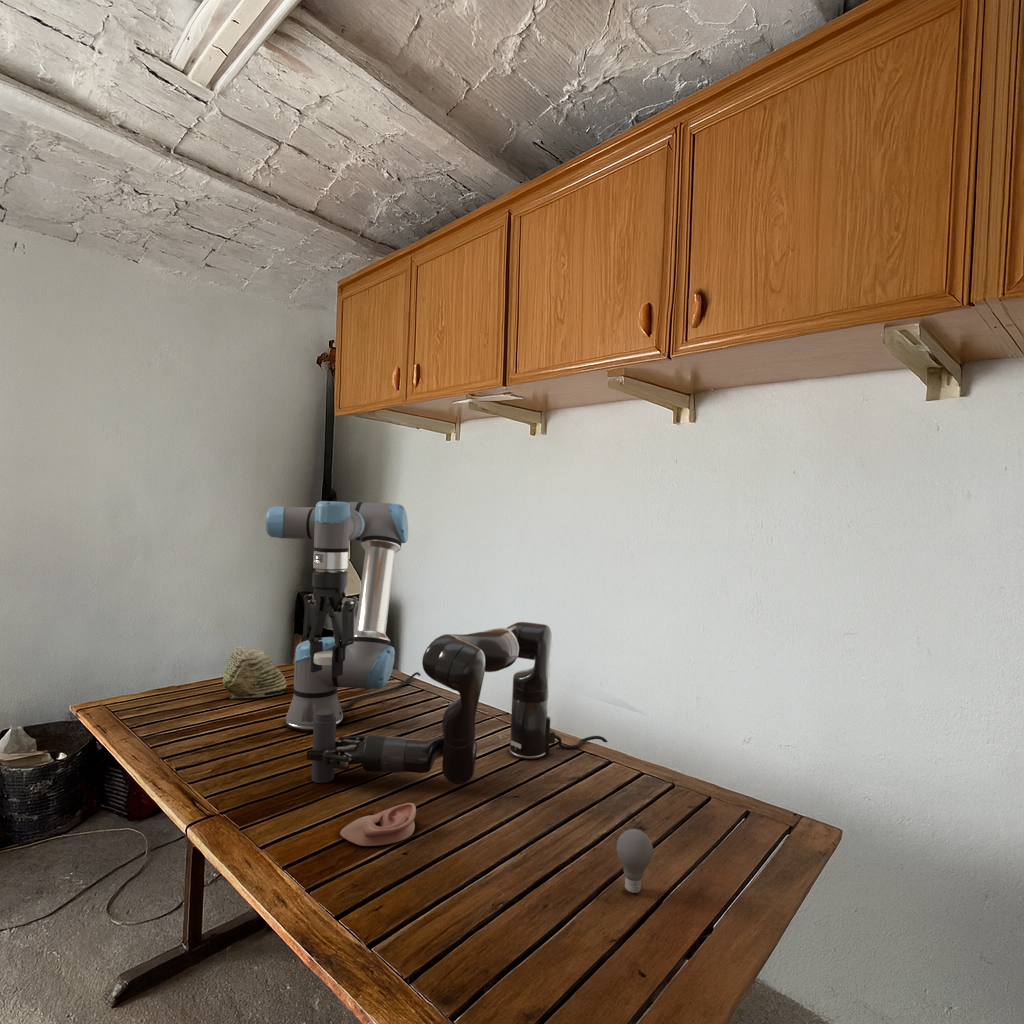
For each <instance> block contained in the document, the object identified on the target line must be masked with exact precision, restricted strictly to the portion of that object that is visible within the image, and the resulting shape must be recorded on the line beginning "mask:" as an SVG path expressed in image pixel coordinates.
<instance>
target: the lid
mask: <svg viewBox="0 0 1024 1024" xmlns="http://www.w3.org/2000/svg"><path fill="white" fill-rule="evenodd" d="M314 663H315V664H317V665H332V651H322V652H317V653H315V654H314Z"/></svg>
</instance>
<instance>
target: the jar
mask: <svg viewBox="0 0 1024 1024" xmlns="http://www.w3.org/2000/svg"><path fill="white" fill-rule="evenodd" d="M315 715H316V718H314V726H313V732H312V749H318V750H334V749H335V741H336V739H337V727H336V717H334V716H335V711H334V710H331V709H322V710H318V711H317V712H316V713H315ZM334 755H335V754H334ZM334 779H335V768H330V767H325V766H324V761H315V760H311V782H313V783H316V784H327V783H330V782H332V781H333V780H334Z"/></svg>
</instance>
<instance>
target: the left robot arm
mask: <svg viewBox="0 0 1024 1024" xmlns="http://www.w3.org/2000/svg"><path fill="white" fill-rule="evenodd" d="M264 523H265V524H264V525H265V527H264V528H265V532H266V534H267V536H269V537H271V538H276V539H281V540H282V539H296V540H313V563H312V564H313V565H312V567H313V569H315V570H314V571H312V582H311V583H312V587H313V588H314V591H313V592H312V593H310V594H304V595H303V603H304V610H303V611H304V613H303V625H302V626H303V628H302V638H303V639H307V640H304V641H302V642H300V643H298V644H297V645H296V648H295V655H294V659H293V662H294V672H293V695H292V696H293V697H292V699H291V702H290V704H289V708H288V711H287V713H286V715H285V726H286V728H287V729H289V730H291V731H294V732H295V731H296V732H301V733H313V726H314V718H316V715H315V713H316V712H317V711H318V710H322V709H331V710H334V711H335V716H334V717H336V728H337V727H339V726H340V725H342V723H343V722H344V714H343V710H344V709H347V708H349V707H350V706H351V705H352V703H354V702H356V701H358V700H362V699H365V698H370V697H374V696H378V695H382V694H384V693H385V694H386V693H389V692H392V691H395V690H397V689H400V688H402V687H403V686H405V685H407V683H408V682H410V680H412V679H413V678H414V677H416V676H419V677H420V676H421V673H420V672H419V671H418V672H417V671H416V672H414V673H413V674H411V675H410V676H409V677H408V678H407V679H406V680H405V681H404V682H402V683H400V684H398V685H396V686H393V687H390V688H388V689H384V690H380V689H383V688H384V687H385V686H386V685H387V684H388V682H389V680H390V678H391V675H392V672H393V668H394V664H395V655H396V650H395V647H394V646H392V645H391V640H390V638H389V637H388V636H387V634H386V632H387V625H388V615H389V607H390V598H391V592H392V591H391V590H392V581H393V574H394V565H395V558H396V557H395V556H396V554H397V553H398V552H400V551H401V550H402V544H406V543H407V542H408V539H409V521H408V514H407V511H406V508H405V506H403V505H402V504H400V503H391V502H367V501H365V502H363V501H350V502H349V501H348V502H347V501H336V500H335V501H334V500H333V501H332V500H331V501H330V500H329V501H328V500H320V501H318V502H317V503H316V504H315V507H311V506H310V507H309V506H307V507H306V506H304V507H303V506H302V507H301V506H285V505H284V506H283V505H282V506H272V507H270V508H269V509H268V510H267V512H266V515H265V521H264ZM352 541H359V542H361V543H360V545H361V547H362V549H364V551H365V552H364V559H363V568H362V574H361V583H360V590H359V597H358V604H357V601H356V600H355V599H350V598H347V594H346V589H347V587H348V577H349V572H348V571H346V570H347V569H349V546H350V542H352ZM356 605H357V612H356V618H355V608H356ZM327 616H328V617H329V618H330V620H331V621H330V622H331V627H332V632H333V633H332V634H333V636H324V637H322V634H323V630H324V627H325V623H326V618H327ZM322 651H332V665H317V664H315V663H314V654H315V653H317V652H322ZM338 688H348V689H364V690H365V689H366V690H371V689H373V690H380V691H376V692H372V693H368V694H363V695H360V696H356V697H354V698H351V700H349V702H348V703H346V704H345V705H341V702H340V699H339V695H338Z"/></svg>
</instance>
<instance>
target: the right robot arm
mask: <svg viewBox="0 0 1024 1024" xmlns="http://www.w3.org/2000/svg"><path fill="white" fill-rule="evenodd" d="M553 644H554V633H553V630H552V627H551V626H550V625H548V624H545V623H544V624H543V623H538V622H537V623H536V622H528V621H518V622H515V623H512V624H511V625H508V626H506V627H498V628H491V629H487V630H484V631H483V630H482V631H478V632H472V633H466V634H462V633H461V634H459V633H458V634H457V633H445V634H441V635H440V636H438V637H436V638H435V639H433V640H432V641H431V642H430V643H429V644H428V646H427V647H426V649H425V650H424V653H423V655H422V662H421V663H422V669H423V671H424V673H425V674H426V676H428V677H429V678H430V679H431V680H432V681H435V682H437V683H438V684H441V685H443V686H445V687H446V688H447V689H450V690H452V691H456V692H458V694H459V697H457V699H454V700H453V701H452V702H451V703H450V704H449V705H448V706H447V707H446V709H445V711H444V713H443V716H442V720H441V721H442V723H441V725H442V726H441V727H442V736H438V737H432V738H427V739H420V738H419V739H418V738H406V737H401V736H391V735H376V734H375V735H373V734H370V735H368V736H367V737H366V736H365V735H341V736H338V738H336V741H335V749H334V750H318V749H313V748H309V749H308V750H307V751H306V759H307V761H312V760H315V761H324V766H325V767H330V768H334V769H336V770H342V771H349V769H350V765H358V764H361V765H362V769H363V770H364V771H365V772H377V773H392V774H393V773H394V774H397V773H414V774H428V773H430V772H431V770H432V769H433V767H434V764H435V762H436V761H437V760H438V759H440V758H442V762H441V764H442V765H441V769H442V770H441V772H442V774H443V776H444V778H445V779H446V780H447V781H448V782H449V783H451V784H453V785H457V786H458V785H459V786H460V785H464V784H466V783H468V782H469V781H470V780H471V779H472V778H473V776H474V774H475V770H476V759H477V751H478V743H477V741H476V736H477V735H476V733H477V732H476V729H477V728H476V727H477V725H476V717H477V709H478V706H479V702H480V699H481V698H480V697H481V694H482V689H483V683H484V677H485V673H495V672H499V671H502V670H505V669H507V668H509V667H511V666H512V665H513V664H514V663H515V662H516V661H517V659H521V660H522V659H524V660H529V661H534V664H533V667H530V668H527V669H522V670H518V671H517V672H514V674H513V676H512V693H511V695H512V696H511V716H510V735H509V737H510V739H509V750H508V751H509V754H510V755H511V756H513V757H515V758H517V759H522V760H538V759H542V758H543V757H545V756H549V755H550V745H552V744H555V743H556V740H557V741H558V742H557V744H558V746H559V748H560V749H562V750H563V749H564V750H574V749H578V748H580V747H582V744H583V743H586V742H588V741H592V740H599V741H602V742H603V743H608V740H607V739H606V738H605V737H603V736H601V735H591V736H587V737H584V738H582V739H580V740H579V741H578V743H577V744H572V745H564V744H563V741H562V738H561V737H560V736H559V735H558V734H556V732H555V731H554V730H553V729H551V717H550V716H549V715H548V712H549V711H548V709H549V690H550V689H549V687H550V676H551V667H552V666H551V665H552V655H553V646H554V645H553ZM334 754H335V755H334Z"/></svg>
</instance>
